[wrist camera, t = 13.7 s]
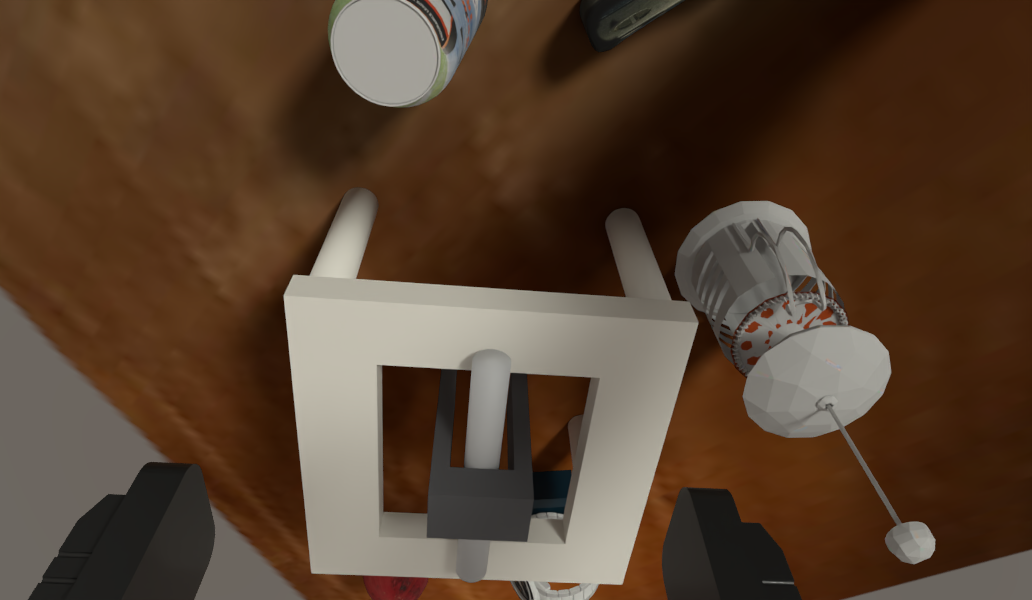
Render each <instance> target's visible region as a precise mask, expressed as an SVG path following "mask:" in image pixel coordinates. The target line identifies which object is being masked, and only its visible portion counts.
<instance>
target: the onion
mask: <svg viewBox="0 0 1032 600" xmlns="http://www.w3.org/2000/svg"><path fill="white" fill-rule="evenodd" d="M363 579H364V584H365V587H366V590H367V592H368V594H369V596H370V597H371V598H372V600H417V599H418V598H419V596H420V595H421V594H422V592H423V590H424V588H425V586H426V585H427V582H428V578H426V577H398V576H370V575H363Z"/></svg>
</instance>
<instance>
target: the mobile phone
mask: <svg viewBox="0 0 1032 600" xmlns="http://www.w3.org/2000/svg"><path fill="white" fill-rule="evenodd" d="M683 1H685V0H582V1H581V4H580V17H581V19H582V22H583V25H584V27H585V30H586V33H587V35H588V38H589V40H590V42H591V45H592V47H593V48H594V49H595V50H596V51H598V52H604V51H608V50H610V49H612V48H613V47H615V46H616V45H618V44H619V43H620V42H621V41H623V40H624V39H626V38H627V37H628V36H630V35H631V34H633V33H634V32H636V31H637V30H639V29H640V28H642V27H644V26H645V25H647V24H648V23H650V22H651V21H653V20H654V19H656V18H657V17H659V16H661V15H662V14H664V13H666V12H667V11H669V10H671V9H672V8H674V7H675V6H677V5H679V4H680V3H682V2H683Z"/></svg>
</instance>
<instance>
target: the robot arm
mask: <svg viewBox="0 0 1032 600" xmlns="http://www.w3.org/2000/svg"><path fill="white" fill-rule="evenodd" d="M214 538H215V525H214V520H213V516H212V512H211V507H210V503H209V499H208V495H207V491H206V487H205V483H204V478H203V474H202V471H201V468H200V466H199V465H197V464H184V463H161V462H159V463H158V462H149V463H147V464H145V465H144V466H143V468H142V469H141V470H140V472H139V473H138V475H137V477H136V478H135V480H134V482H133V483H132V485H131V487H130V489H129V490H128V492H127V494H126V495H113V494H108V495H107V496H106V497H105V498H103V499H102V500H101V501H100V502H99V503H97V504H96V505H95V506H94V507H93V508H92V509H91V510H89V511H88V512H87V513H86V514H85V515H84V516H82V517H81V518H80V519H79V520H78V521H77V523H76V524H75V526H74V527H73V529H72V531H71V532H70V534H69V535H68V537H67V538H66V540H65V542H64V543H63V545H62V546H61V548H60V550H59V554H58V557H55V558H54V559H53V561H52V562H51V564H50V565H49V567H48V569H47V570H46V572H45V573H44V575H43V580H42V582H41V583H38V585H37V587H36V588H35V590H34V591H33V592H32V594H31V596H30V597H29V599H28V600H194V598H195V596H196V593H197V591H198V589H199V586H200V584H201V581H202V579H203V576H204V574H205V571H206V569H207V567H208V564H209V561H210V558H211V555H212V551H213V546H214ZM662 569H663V578H664V584H665V588H666V593H667V598H668V600H802V599H801V597H800V594H799V591H798V589H797V587H796V586H794V579H793V576H792V574H791V571H790V569H789V566H788V564H787V561H786V558H785V556H784V553H783V551H782V549H781V548H780V547H779V546H778V544H777V543H776V542H775V541H774V540H773V538H772V537H771V536H770V535H769V534H768V532H767V531H766V530H765V529H764V528H763V527H762V525H761V524H760V523H743V522H741V519H740V516H739V514H738V511H737V508H736V505H735V502H734V499H733V497H732V495H731V493H730V492H729V491H728V490H727V489H711V488H688V487H684V488H682V489H681V490H680V492H679V495H678V498H677V502H676V505H675V508H674V511H673V515H672V518H671V521H670V525H669V528H668V531H667V534H666V538H665V541H664V545H663V553H662Z"/></svg>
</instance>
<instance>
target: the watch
mask: <svg viewBox="0 0 1032 600" xmlns="http://www.w3.org/2000/svg"><path fill="white" fill-rule="evenodd" d="M532 474H533V492H534V502H533V509H532V515H531V518H538V519H562V520H563V515H564V510H565V505H566V500H567V495H568V490H569V485H570V480H571V470H563V471H545V472H532ZM510 582H511V584H512V586H513V588H514V590H515V591H516V593H517V595H518V596H519V598H520V599H521V600H561V598H562V600H589V598H590V597H591V596H592V595H593V594H594V593H595V591H596V589H597V587H598V585H599V584H593V583H581V584H580V585H579V586H576V587H574V588H571V589H569V590H559V591H558V592H557V591H556V590H549V589H550V585H549V584H548V583H547V582H537V581H510Z"/></svg>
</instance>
